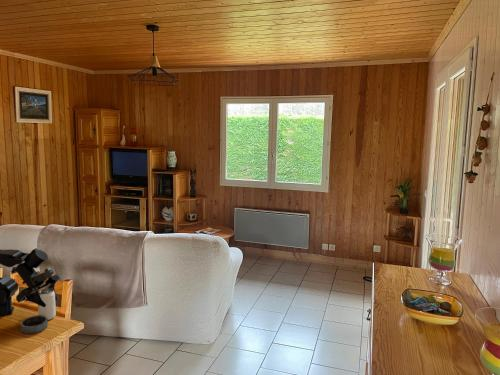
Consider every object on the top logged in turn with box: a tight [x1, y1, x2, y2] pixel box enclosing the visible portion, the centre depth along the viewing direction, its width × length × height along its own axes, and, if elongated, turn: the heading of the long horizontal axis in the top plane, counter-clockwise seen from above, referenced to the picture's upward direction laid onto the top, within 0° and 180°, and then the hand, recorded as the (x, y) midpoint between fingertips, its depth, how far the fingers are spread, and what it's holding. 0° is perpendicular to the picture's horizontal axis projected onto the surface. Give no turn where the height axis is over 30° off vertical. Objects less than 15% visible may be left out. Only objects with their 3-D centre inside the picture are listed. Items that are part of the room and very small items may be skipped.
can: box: [37, 288, 57, 321], centre depth 159 cm, size 6×6×12 cm
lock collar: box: [20, 315, 48, 335], centre depth 151 cm, size 9×9×3 cm
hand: (50, 303), depth 158 cm, fingers closed on can, 6 cm apart
